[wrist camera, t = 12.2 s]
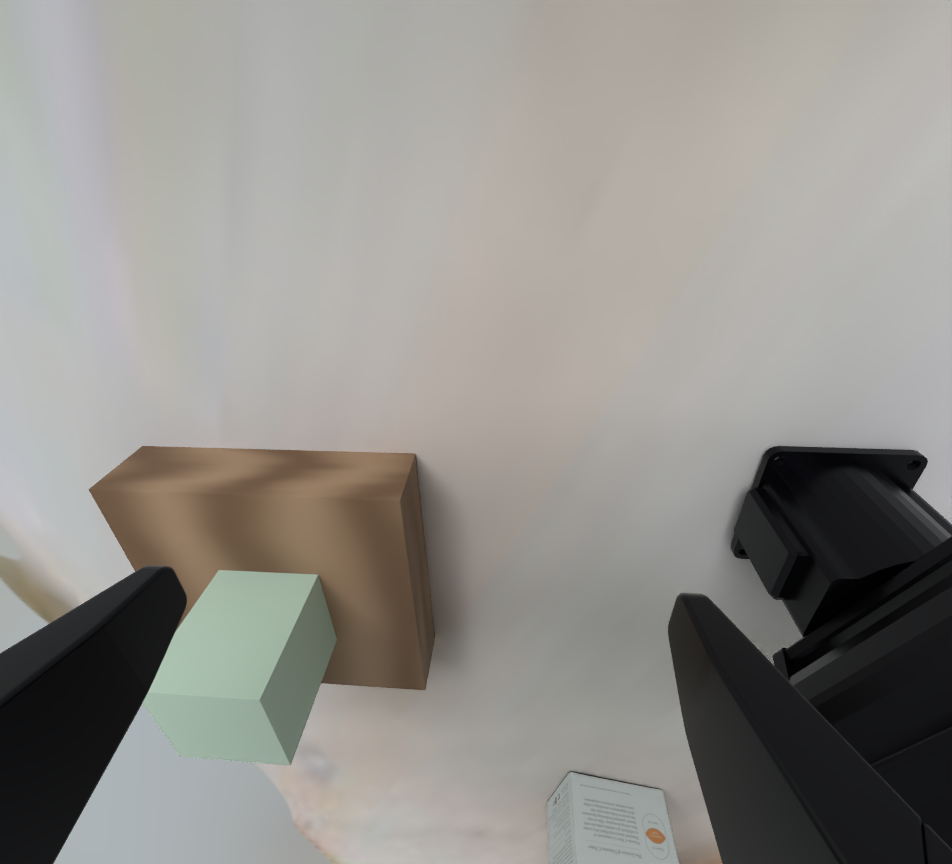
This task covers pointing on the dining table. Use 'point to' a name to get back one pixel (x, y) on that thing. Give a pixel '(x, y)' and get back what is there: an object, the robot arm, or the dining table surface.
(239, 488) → the walnut base
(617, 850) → the small box
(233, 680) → the green cube
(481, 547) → the dining table surface
